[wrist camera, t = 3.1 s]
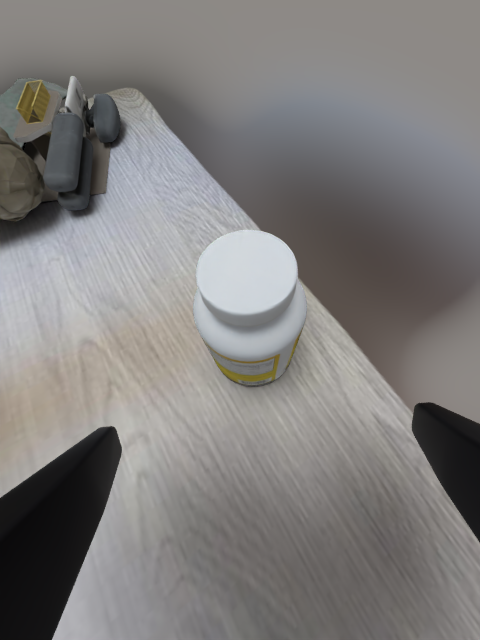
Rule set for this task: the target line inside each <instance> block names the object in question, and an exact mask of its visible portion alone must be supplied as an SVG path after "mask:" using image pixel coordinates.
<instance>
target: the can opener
mask: <svg viewBox="0 0 480 640" xmlns="http://www.w3.org/2000/svg"><path fill="white" fill-rule="evenodd" d="M64 108H65V113H60V114H57V115H56V116H55V117H54V121H53V127H52V132H51V137H50V142H49V149H48V154H47V159H46V165H45V170H44V176H43V179H44V182H45V184H46V185H47V187H48V188H50V189H51V190H53V191H56V192H58V197H57V199H58V202H59V204H60V205H61V206H62V207H63V208H64V209H67V210H70V211H73V210H82V209H85V208H86V207H87V206H88V204H89V194H90V182H91V170H92V159H93V145H92V143H91V141H90V140H89V139H88V138H86V134H87V135H90V128H95V131H96V134H97V137H98V139H99V141H100V142H101V143H106V142H113V141H114V140H115V139H116V137H117V135H118V133H119V130H120V115H119V112H118V109H117V106H116V104H115V102H114V100H113V99H112V97H111V96H109V95H108V94H95V95H94V104H93V106H92V107H91V109H90V110H89V108H88V101H87V97H86V95H85V93H84V91H83V89H82V87H81V85H80V83H79V81H78V80H77V78H76V77H74V76H71V77H70V82H69V87H68V92H67V97H66V102H65V106H64Z"/></svg>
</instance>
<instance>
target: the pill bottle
mask: <svg viewBox="0 0 480 640" xmlns="http://www.w3.org/2000/svg"><path fill="white" fill-rule="evenodd" d="M297 277H298V268H297V262H296V259H295V257H294V254H293V252H292V251H291V249H290V248H289V247H288V246H287V245H286V244H285V243H284V242H283V241H282V240H280V239H279V238H277V237H275V236H274V235H271V234H269V233H266V232H262V231H258V230H240V231H235V232H231V233H228V234H225V235H223V236H221V237H219V238H218V239H216V240H214V241H213V242H212V243H211V244H210V245H209V246H207V248H206V249H205V250H204V251H203V253H202V254H201V256H200V258H199V260H198V263H197V267H196V282H197V287H198V289H197V291H196V294H195V297H194V303H193V315H194V321H195V324H196V327H197V329H198V331H199V333H200V335H201V337H202V339H203V341H204V342H205V344H206V346H207V348H208V350H209V351H210V353H211V355H212V357H213V358H214V360H215V362H216V364H217V366H218V367H219V369H220V370H221V371H222V373H223V374H224V375H225V376H226V377H227V378H229V379H230V380H232V381H233V382H235V383H238V384H240V385H244V386H253V387H254V386H262V385H266V384H268V383H271V382H273V381H274V380H276V379H277V378H279V377H280V376H281V375H282V374H283V373H284V372H285V370H286V369H287V367H288V365H289V363H290V361H291V358H292V356H293V353H294V351H295V348H296V345H297V343H298V340H299V337H300V334H301V332H302V329H303V326H304V323H305V319H306V313H307V302H306V296H305V292H304V290H303V287H302V285H301V283H300V282H299V280H298V278H297Z"/></svg>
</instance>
